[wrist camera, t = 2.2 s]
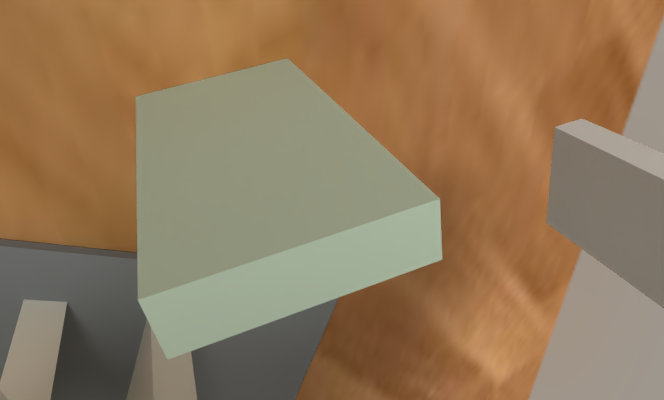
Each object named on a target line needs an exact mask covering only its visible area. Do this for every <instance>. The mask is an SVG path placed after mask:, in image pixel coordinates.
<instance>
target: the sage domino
mask: <svg viewBox="0 0 664 400" xmlns="http://www.w3.org/2000/svg"><path fill="white" fill-rule="evenodd" d="M136 174H137V278H138V302H139V304H140V306H141V308H142V310H143V312H144V314H145V316H146V318H147V320H148V322H149V324H150V326H151V328H152V330H153V332H154V334H155V336H156V338H157V340H158V342H159V344H160V346H161V348H162V350H163V352H164V354H165V356H166V358H167V360H168V359H171V358H174V357H176V356H179V355H182V354H185V353H187V352H190V351H193V350H196V349H198V348H201V347H204V346H207V345H209V344H212V343H215V342H218V341H220V340H223V339H226V338H229V337H231V336H234V335H237V334H240V333H242V332H245V331H248V330H250V329H253V328H256V327H259V326H261V325H264V324H267V323H270V322H272V321H275V320H278V319H281V318H283V317H286V316H289V315H292V314H294V313H297V312H300V311H303V310H305V309H308V308H311V307H314V306H316V305H319V304H322V303H325V302H327V301H330V300H333V299H336V298H338V297H341V296H344V295H347V294H349V293H352V292H355V291H358V290H360V289H363V288H366V287H369V286H371V285H374V284H377V283H380V282H382V281H385V280H388V279H391V278H393V277H396V276H399V275H402V274H404V273H407V272H410V271H413V270H415V269H418V268H421V267H424V266H426V265H429V264H432V263H435V262H437V261H440V260H442V239H441V212H440V198H439V197H438V196H436V195H435V194H434V193H433V192H432V191H431V190H430V189H429V188H428V187H427V186H426V185H425V184H423V183H422V182H421V181H420V180H419V179H418V178H417V177H416V176H415V175H414V174H413V173H412V172H410V171H409V170H408V169H407V168H406V167H405V166H404V165H403V164H402V163H401V162H400V161H399V160H397V159H396V158H395V157H394V156H393V155H392V154H391V153H390V152H389V151H388V150H387V149H386V148H384V147H383V146H382V145H381V144H380V143H379V142H378V141H377V140H376V139H375V138H374V137H373V136H371V135H370V134H369V133H368V132H367V131H366V130H365V129H364V128H363V127H362V126H361V125H360V124H358V123H357V122H356V121H355V120H354V119H353V118H352V117H351V116H350V115H349V114H348V113H347V112H345V111H344V110H343V109H342V108H341V107H340V106H339V105H338V104H337V103H336V102H335V101H334V100H332V99H331V98H330V97H329V96H328V95H327V94H326V93H325V92H324V91H323V90H322V89H321V88H319V87H318V86H317V85H316V84H315V83H314V82H313V81H312V80H311V79H310V78H309V77H308V76H306V75H305V74H304V73H303V72H302V71H301V70H300V69H299V68H298V67H297V66H296V65H295V64H294V63H292V62H291V61H290V60H289V59H288V58H286V59H282V60H278V61H274V62H270V63H266V64H262V65H259V66H255V67H251V68H247V69H243V70H239V71H235V72H231V73H227V74H223V75H219V76H215V77H211V78H207V79H203V80H199V81H195V82H191V83H187V84H183V85H179V86H175V87H171V88H168V89H164V90H160V91H156V92H152V93H148V94H144V95H140V96H136Z"/></svg>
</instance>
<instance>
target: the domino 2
mask: <svg viewBox="0 0 664 400" xmlns="http://www.w3.org/2000/svg"><path fill="white" fill-rule="evenodd" d="M126 400H197V393H196V386H195V378H194V370H193V363H192V355H191V351H190V352H187V353H185V354H182V355H179V356H176V357H174V358H171V359H168V360H167V358H166V356H165V354H164V352H163V350H162V348H161V346H160V344H159V342H158V340H157V338H156V336H155V334H154V332H153V330H152V328H151V326H150V324H149V322H148V320H146V324H145V328H144V332H143V336H142V340H141V344H140V348H139V352H138V355H137V359H136V363H135V367H134V371H133V375H132V379H131V383H130V387H129V390H128V394H127V398H126Z"/></svg>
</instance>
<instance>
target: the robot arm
mask: <svg viewBox="0 0 664 400" xmlns="http://www.w3.org/2000/svg"><path fill="white" fill-rule="evenodd" d="M546 223H547V224H549V225H550V226H551V227H553V228H554V229H555V230H557V231H558V232H560V233H561V234H562V235H564V236H565V237H566V238H568V239H569V240H571V241H572V242H573V243H575V244H576V245H577V246H579V247H580V248H582V249H583V250H584V251H586V252H587V253H588V254H590V255H591V256H593V257H594V258H596V259H597V260H598V261H600V262H601V263H602V264H604V265H605V266H606V267H608V268H609V269H610V270H612V271H613V272H615V273H616V274H617V275H619V276H620V277H621V278H623V279H624V280H626V281H627V282H629V283H630V284H631V285H632V286H634V287H635V288H637V289H638V290H640V291H641V292H642V293H644V294H645V295H646V296H648V297H649V298H650V299H652V300H653V301H655V302H656V303H657V304H659V305H660V306H661V307H663V308H664V154H663V153H660V152H658V151H656V150H653V149H651V148H649V147H647V146H644V145H642V144H640V143H637V142H635V141H633V140H630V139H628V138H626V137H623V136H621V135H619V134H617V133H614V132H612V131H610V130H607V129H605V128H603V127H600V126H598V125H596V124H593V123H591V122H589V121H586V120H584V119H579V120H576V121H573V122H570V123H566V124H563V125H560V126H557V127H555V131H554V142H553V153H552V164H551V175H550V187H549V198H548V209H547V220H546ZM0 400H8V399H7V398H6V396H5V395H4V394H3V393H2V391H1V390H0Z"/></svg>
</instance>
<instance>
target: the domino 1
mask: <svg viewBox="0 0 664 400" xmlns="http://www.w3.org/2000/svg"><path fill="white" fill-rule="evenodd" d="M66 306H67V302H58V301H41V300H23V304H22V307H21V311H20V314H19V318H18V321H17V325H16V328H15V332H14V335H13V339H12V342H11V345H10V349H9V352H8V356H7V359H6V363H5V366H4V370H3V373H2V377H1V380H0V390H1V391H2V393H3V394H4V395H5V396H6V398H7V399H8V400H50V399H51V393H52V387H53V381H54V376H55V370H56V364H57V358H58V353H59V347H60V341H61V335H62V329H63V324H64V318H65V312H66Z"/></svg>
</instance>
